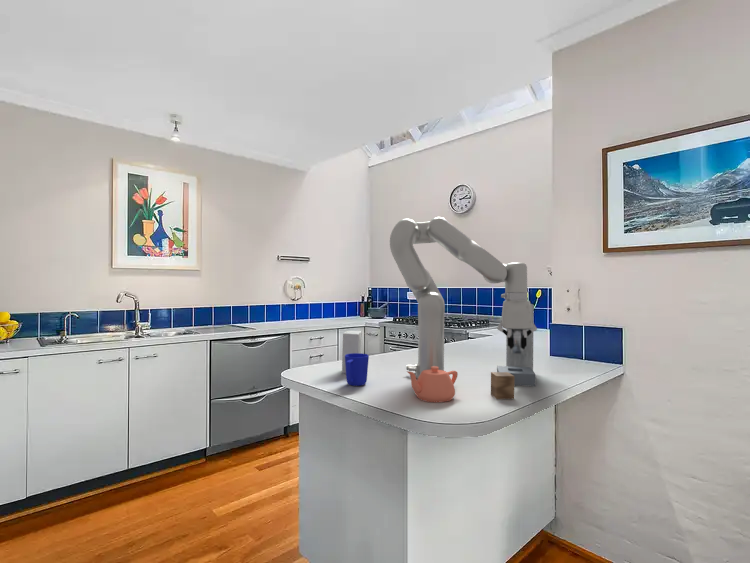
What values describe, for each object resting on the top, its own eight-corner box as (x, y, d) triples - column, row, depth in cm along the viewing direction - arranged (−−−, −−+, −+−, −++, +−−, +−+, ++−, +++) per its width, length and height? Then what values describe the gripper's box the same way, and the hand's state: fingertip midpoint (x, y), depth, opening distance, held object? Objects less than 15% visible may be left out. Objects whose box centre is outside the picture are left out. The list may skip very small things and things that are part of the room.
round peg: (512, 353, 147) (511, 325, 147) (511, 351, 150) (511, 324, 150) (523, 353, 146) (522, 325, 146) (521, 352, 149) (521, 324, 149)
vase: (537, 372, 163) (537, 303, 163) (527, 376, 155) (527, 304, 155) (512, 368, 169) (512, 302, 169) (501, 372, 162) (502, 303, 162)
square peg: (496, 399, 125) (496, 376, 125) (490, 394, 131) (490, 372, 131) (514, 399, 126) (514, 376, 126) (507, 394, 131) (508, 372, 131)
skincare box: (346, 368, 167) (346, 330, 167) (362, 369, 166) (362, 330, 166) (341, 373, 159) (341, 332, 159) (358, 374, 158) (358, 333, 158)
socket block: (499, 384, 144) (499, 372, 144) (496, 376, 156) (497, 365, 156) (535, 386, 141) (535, 374, 141) (530, 378, 153) (530, 367, 153)
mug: (335, 388, 136) (336, 358, 136) (350, 380, 147) (350, 352, 147) (358, 391, 133) (359, 360, 133) (371, 382, 144) (372, 354, 144)
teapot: (468, 400, 124) (468, 368, 124) (416, 407, 117) (416, 373, 117) (445, 390, 135) (446, 361, 135) (396, 396, 128) (397, 365, 128)
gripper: (492, 297, 147) (493, 349, 146) (542, 297, 143) (543, 350, 143) (491, 297, 154) (492, 346, 154) (539, 296, 150) (540, 347, 150)
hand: (517, 347), depth 148 cm, fingers closed on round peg, 3 cm apart
